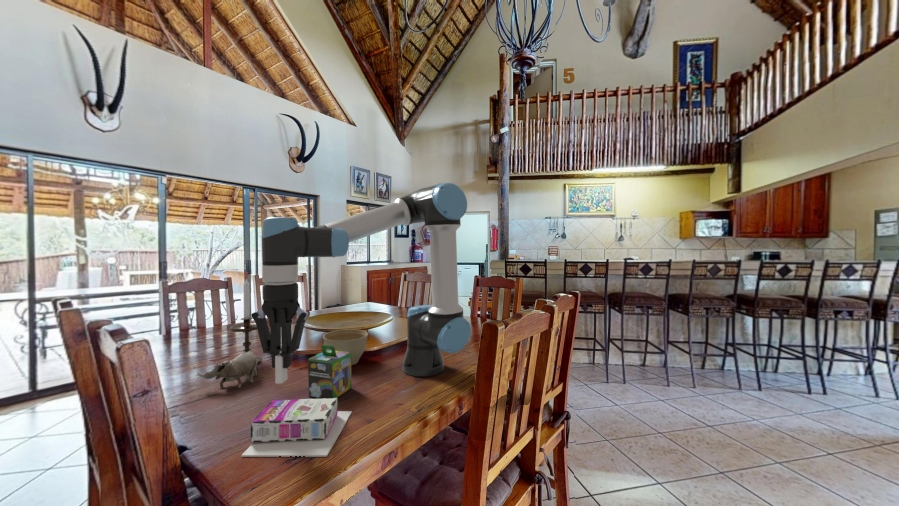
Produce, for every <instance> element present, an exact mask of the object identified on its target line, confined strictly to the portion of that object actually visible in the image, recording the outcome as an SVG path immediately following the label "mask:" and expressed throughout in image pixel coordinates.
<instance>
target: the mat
mask: <svg viewBox="0 0 899 506" xmlns="http://www.w3.org/2000/svg"><path fill="white" fill-rule="evenodd" d="M352 413H353V412H352V410H344V411H343V410H342V411H341V410H337V417H336V419H335V421H334V423H333V425H332V427H331V429H330V431H329V433H328V435H327V437H326V439H325V440H303V441H276V442H255V443H252V444H250V445H249V447H248V448H247V449H246V450H245V451H244V452H243V453H242V454H241V458H243V457H244V458H245V457H246V458H247V457H248V458H249V457H251V458H254V457H255V458H256V457H257V458H261V457H262V458H265V457H266V458H268V457H269V458H270V457H271V458H285V457H286V458H287V457H289V458H296V457H295V456H297V458H301V457H302V458H303V456H305V457H306V458H311V457H312V458H314V457H315V458H318V457H320V458H323V457H324V458H325V457H326V458H327V457H328V456H329V453H330V452H331V450H332V449H333V447H334V445H335V443H336V442H337V439H338V438H339V436H340V434H341V433H342V431H343V430H344V428H345V426H346V424H347V422H348V421H349V418H350V417H351V415H352ZM279 456H281V457H279ZM290 456H292V457H290ZM299 456H301V457H299ZM305 457H304V458H305Z"/></svg>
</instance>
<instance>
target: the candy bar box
mask: <svg viewBox="0 0 899 506" xmlns="http://www.w3.org/2000/svg"><path fill="white" fill-rule="evenodd" d="M337 411H338V398H296V399H294V398H291V399H273V400H271V401H270V402H269V403H268V404H267V405H266V406H265V407H264V408H263V409H262V411H261V412H259V413H258V415H257V416H256V417H255V418H254V419H253V420H252V421H251V422H250V443H252V444H253V443H255V442H276V441H303V440H325V439H326V437H327V435H328V433H329V431H330V429H331V427H332V425H333V423H334V421H335V419H336V417H337Z"/></svg>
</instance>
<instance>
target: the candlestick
mask: <svg viewBox="0 0 899 506" xmlns="http://www.w3.org/2000/svg"><path fill="white" fill-rule="evenodd" d="M244 274H245V276H244V278H245V279H244V282H243V318H240V320H241V321H243V322H242V323H241V322H240V323H236V324H232V325H231V326H229V330H228V331H230V332H232V333H244V342H243V343H242V346H243V347H244V349H243V353H246V352H251V351H252V349H251V348H250V346H251V345H252V342H251V341H250V332H252V331H258V330H257V326H256V322H255V321H251V320H253V318H252V316H250V314H251V313H250V312H251V310H250V305H251V304H250V282H249V281H248V277H249V275H248V272H247V270H246V271H245V272H244ZM256 357H257V359H258V362H257V365H259V364H260V363H262V358H261V357H259V356H256ZM258 363H259V364H258Z"/></svg>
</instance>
